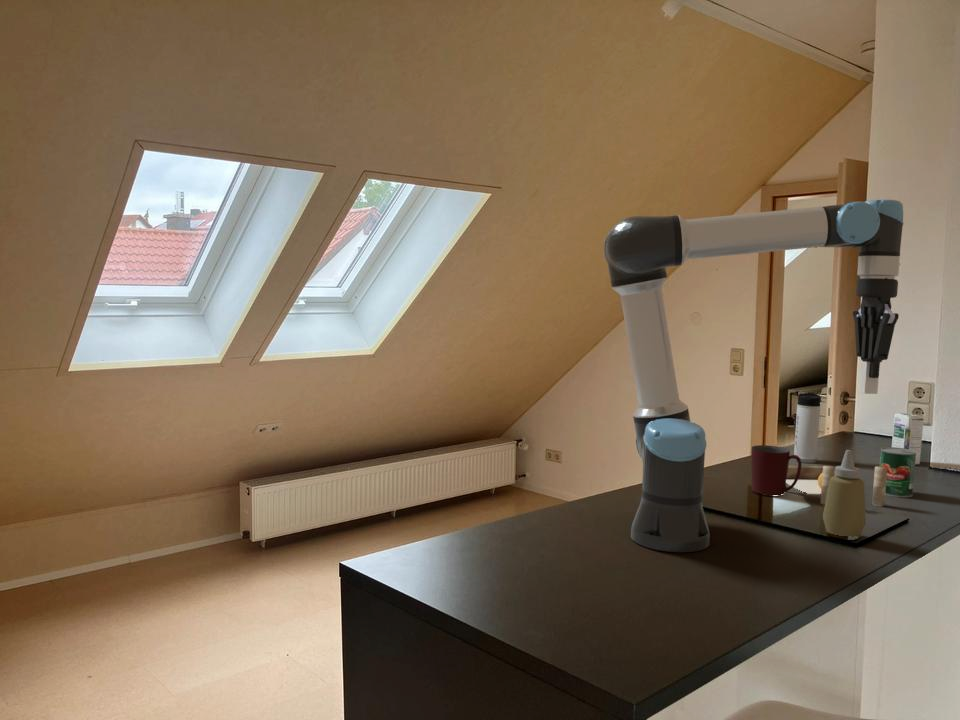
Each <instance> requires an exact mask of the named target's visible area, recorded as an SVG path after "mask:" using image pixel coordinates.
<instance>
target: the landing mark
mask: <svg viewBox="0 0 960 720" xmlns="http://www.w3.org/2000/svg"><path fill="white" fill-rule="evenodd" d="M794 480H795V479H786V484H787V485H789V487H790V486H791V485H792V483H793V482H794ZM793 489H795V490H797V489H798V490H797V491H799V490H800V491H799V492H801V491H802V492H801V493H803V492H806V493H807V494H806V495H820V494H821V488H820V487H819V485H818V479H798V481H797V483H796V484H795V486H794V487H793Z"/></svg>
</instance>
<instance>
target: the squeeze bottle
mask: <svg viewBox="0 0 960 720" xmlns="http://www.w3.org/2000/svg"><path fill="white" fill-rule="evenodd" d="M834 467H835V475H836V476H833V477H831V478H830V480H829V485H828V491H827V496H826V502H825V506H824V509H823V513H822V519H823V524H824V527H825V531H826V533H827V532H828V533H831V534H834V535H839V536H852V537H854V536H859V535H860V536H861V535H862V532H863V530H864V527H865V526H866V494H865V492H866V491H865V481H864V480H863V479H861V478H860V477H861V469H860V468H858V467H855V460H854V455H853V450H851V449H846V450H845V452H844V455H843V457H842V462H841V464H840V465H837V466H834Z"/></svg>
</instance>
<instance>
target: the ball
mask: <svg viewBox="0 0 960 720" xmlns="http://www.w3.org/2000/svg"><path fill="white" fill-rule="evenodd" d="M822 474H823V473H821V474H820V475H819V477H818V479H817V480H818V485H819V487H820V488H821V489H822ZM835 476H836V475H835Z"/></svg>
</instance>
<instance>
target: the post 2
mask: <svg viewBox="0 0 960 720" xmlns="http://www.w3.org/2000/svg"><path fill="white" fill-rule="evenodd" d="M886 477H887V468H885V467H880V465H879V466H874V475H873V487H872V497H871V499H872V502H871V504H872V506H874V507H885V503H886V502H885V500H886V495H885V490H886Z"/></svg>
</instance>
